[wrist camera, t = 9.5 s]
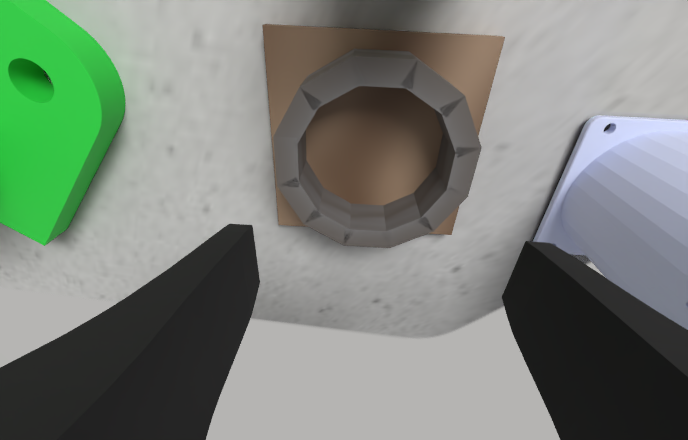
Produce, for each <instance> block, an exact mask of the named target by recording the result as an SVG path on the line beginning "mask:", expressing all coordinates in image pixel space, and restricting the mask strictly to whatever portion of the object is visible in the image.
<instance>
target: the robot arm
mask: <svg viewBox="0 0 688 440" xmlns="http://www.w3.org/2000/svg"><path fill="white" fill-rule="evenodd" d="M610 123H611V126H610V128H609V129H608V130H606V131H604V128H605V127H606V126H607V125H608V124H610ZM570 254H571V255H586V256H587V257H588V258H589V259H590V261H591V262H592V263H593V264H594V265H595V266H596V267H597V268H598V269H599V270H600V272H601V273H602V274H603V275H604V276H605V277H606V278H605V277H604V276H602V275H600V274H599V273H598V272H596V271H595V270H593V269H591V268H590V267H588V266H587V265H585V264H584V263H582V262H581V261H579V260H578V259H576V258H575V257H573V256H571V255H570ZM259 284H260V280H259V272H258V265H257V257H256V250H255V242H254V235H253V227H252V225H240V224H229V225H227V226H226V227H224V228H223V229H221V230H220V231H219V232H217V233H216V234H215V235H213V236H212V237H211V238H209V239H208V240H207V241H205V242H204V243H203V244H201V245H200V246H199V247H198V248H196V249H195V250H194V251H192V252H191V253H189V254H188V255H187V256H185V257H184V258H183V259H181V260H180V261H179V262H177V263H176V264H175V265H173V266H172V267H171V268H169V269H168V270H166V271H165V272H163V273H162V274H161V275H159V276H158V277H156V278H155V279H153V280H152V281H150V282H149V283H147V284H146V285H144V286H143V287H141V288H140V289H138V290H137V291H135V292H134V293H132V294H131V295H129V296H128V297H127V298H125V299H123V300H122V301H120V302H119V303H117V304H116V305H114V306H112V307H111V308H109V309H107V310H106V311H104V312H102V313H101V314H99V315H98V316H96V317H94V318H92V319H91V320H89V321H87V322H85V323H84V324H82V325H80V326H78V327H77V328H75V329H73V330H72V331H70V332H68V333H67V334H64V335H63V336H61V337H59V338H57V339H55V340H53V341H51V342H49V343H47V344H45V345H44V346H42V347H40V348H38V349H36V350H34V351H32V352H30V353H28V354H26V355H24V356H22V357H21V358H18V359H16V360H14V361H12V362H11V363H8V364H7V365H5V366H3V367H1V368H0V440H206V436H207V433H208V430H209V425H210V423H211V419H212V416H213V413H214V410H215V408H216V405H217V402H218V399H219V396H220V394H221V391H222V389H223V386H224V384H225V381H226V379H227V376H228V374H229V371H230V369H231V366H232V364H233V361H234V359H235V356H236V354H237V351H238V349H239V346H240V344H241V341H242V339H243V336H244V333H245V331H246V328H247V326H248V323H249V320H250V318H251V315H252V311H253V308H254V304H255V300H256V296H257V292H258V288H259ZM502 299H503V303H504V306H505V310H506V314H507V317H508V320H509V323H510V326H511V329H512V332H513V335H514V337H515V339H516V342H517V344H518V346H519V348H520V351H521V353H522V355H523V357H524V360H525V362H526V364H527V366H528V368H529V370H530V373H531V374H532V377H533V379H534V381H535V383H536V386H537V388H538V390H539V392H540V394H541V396H542V399H543V401H544V403H545V405H546V407H547V409H548V412H549V414H550V416H551V418H552V421H553V423H554V425H555V428H556V430H557V433H558V435H559V437H560V440H688V120H679V119H660V118H641V117H622V116H603V115H598V116H594V117H592V118H590V119H589V120H588V121H587V122H586V123H585V125H584V127H583V129H582V132H581V134H580V136H579V138H578V141H577V143H576V145H575V147H574V150H573V152H572V154H571V156H570V159H569V161H568V163H567V165H566V168H565V170H564V172H563V174H562V177H561V179H560V181H559V183H558V186H557V188H556V190H555V192H554V195H553V197H552V199H551V201H550V204H549V206H548V208H547V211H546V213H545V215H544V217H543V220H542V222H541V224H540V226H539V229H538V231H537V233H536V235H535V238H534V240H533V242H529V241H526V242H525V244H524V247H523V249H522V251H521V254H520V256H519V258H518V261H517V263H516V265H515V268H514V270H513V272H512V275H511V277H510V279H509V282H508V284H507V286H506V289H505V291H504V293H503V296H502Z"/></svg>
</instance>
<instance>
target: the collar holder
mask: <svg viewBox="0 0 688 440" xmlns="http://www.w3.org/2000/svg"><path fill="white" fill-rule="evenodd" d="M263 36H264V48H265V61H266V73H267V86H268V98H269V110H270V123H271V135H272V148H273V160H274V172H275V185H276V197H277V210H278V222H279V225H290V226H307V227H310V228H312V229H314V230H315V231H317V232H319V233H321V234H323V235H325V236H327V237H329V238H331V239H332V240H334V241H336V242H338V243H340V244H342V245H345V246H362V247H380V248H391V247H394V246H396V245H399V244H402V243H404V242H407V241H410V240H412V239H415V238H418V237H420V236H423V235H426V234H428V233H429V234H447V235H451V234H452V231H453V227H454V223H455V220H456V216H457V212H458V209H459V205H460V204H461V203H462V202H463V201H464V200H465V199H466V198H467V197H468V194H469V190H470V187H471V183H472V179H473V176H474V172H475V169H476V165H477V162H478V158H479V155H480V151H481V145H480V142H479V138H478V135H479V131H480V127H481V124H482V120H483V116H484V113H485V109H486V105H487V102H488V98H489V94H490V91H491V87H492V83H493V80H494V76H495V72H496V68H497V65H498V61H499V57H500V54H501V50H502V46H503V43H504V39H505V37H502V36H489V35H470V34H450V33H430V32H410V31H391V30H371V29H351V28H331V27H311V26H292V25H272V24H265V25H263Z"/></svg>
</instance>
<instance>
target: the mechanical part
mask: <svg viewBox="0 0 688 440" xmlns="http://www.w3.org/2000/svg"><path fill="white" fill-rule="evenodd" d="M43 70H44V71H45V72H46V73H47V74H48V76H49V77H50V79H51V81H52V83H53V85H52V84H51V83H50V82H49V81H48V79H47V78H46V76H45V74H44V72H43ZM124 113H125V94H124V89H123V85H122V82H121V79H120V77H119V74H118V72H117V70H116V68H115V66H114V64H113V63H112V61H111V59H110V58H109V56H108V55H107V54H106V52H105V51H104V50H103V48H102V47H101V46H100V45H99V44H98V43H97V42H96V40H95V39H94V38H93V37H91V36H90V35H89V34H88V33H87V32H86V31H85V30H84V29H82V28H81V27H80V26H79V25H77V24H76V23H75V22H73V21H72V20H71V19H69V18H68V17H67V16H65V15H64V14H63V13H61V12H60V11H59V10H58V9H56V8H55V7H54V6H52V5H51V4H50V3H48V2H47V1H46V0H0V223H2V224H4V225H6V226H8V227H10V228H12V229H14V230H15V231H17V232H19V233H21V234H23V235H25V236H27V237H29V238H31V239H33V240H35V241H37V242H39V243H40V244H42V245H44V246H45V245H46V244H48V243H49V242H50V241H52V240H53V239H54V238H56V237H57V236H58V235H60V234H61V233H62V232H63V231H65V230H66V229H67V228H68V226H69V225H70V223H71V221H72V219H73V217H74V215H75V213H76V211H77V209H78V207H79V205H80V203H81V201H82V199H83V197H84V195H85V193H86V191H87V189H88V187H89V185H90V183H91V181H92V179H93V177H94V175H95V173H96V171H97V169H98V167H99V165H100V164H101V162H102V160H103V158H104V156H105V154H106V152H107V150H108V148H109V146H110V144H111V142H112V140H113V138H114V136H115V134H116V132H117V130H118V128H119V126H120V124H121V122H122V120H123V117H124Z"/></svg>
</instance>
